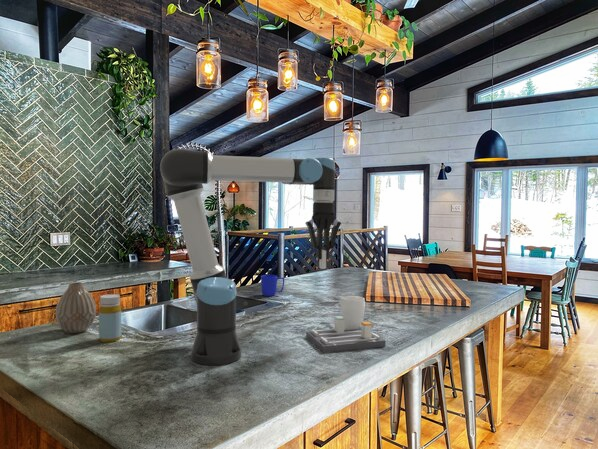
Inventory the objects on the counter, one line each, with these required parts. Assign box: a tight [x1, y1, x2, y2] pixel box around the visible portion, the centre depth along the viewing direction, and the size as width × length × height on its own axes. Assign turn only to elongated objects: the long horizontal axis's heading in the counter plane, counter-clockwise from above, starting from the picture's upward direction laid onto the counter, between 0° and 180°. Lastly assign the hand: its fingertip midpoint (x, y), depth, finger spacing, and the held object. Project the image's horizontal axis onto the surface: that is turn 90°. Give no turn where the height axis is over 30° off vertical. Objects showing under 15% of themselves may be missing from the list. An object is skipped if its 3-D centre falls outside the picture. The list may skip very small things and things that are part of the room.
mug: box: [260, 274, 285, 297], centre depth 227 cm, size 8×12×10 cm
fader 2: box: [361, 320, 373, 339], centre depth 150 cm, size 2×3×5 cm
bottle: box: [98, 293, 123, 343], centre depth 151 cm, size 7×7×15 cm
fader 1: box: [334, 315, 344, 333], centre depth 156 cm, size 2×3×5 cm
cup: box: [340, 295, 366, 328], centre depth 166 cm, size 9×9×12 cm
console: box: [305, 326, 386, 353], centre depth 152 cm, size 22×18×3 cm
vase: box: [55, 281, 97, 334], centre depth 161 cm, size 13×13×18 cm
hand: (322, 268), depth 158 cm, fingers closed
